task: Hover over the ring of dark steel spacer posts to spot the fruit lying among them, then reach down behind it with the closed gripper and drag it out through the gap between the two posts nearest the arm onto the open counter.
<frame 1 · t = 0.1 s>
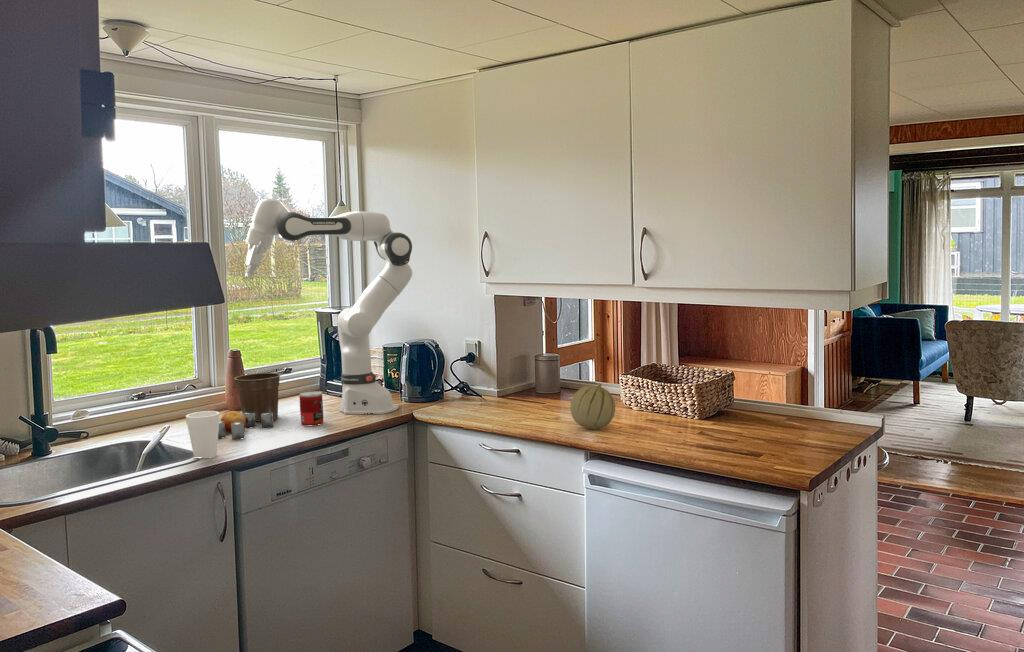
hand: (248, 278, 282), 52 cm above the countertop, tool tilted 20°, fingers open, 8 cm apart
foam cup: (205, 457, 237), on the countertop
plant pot: (260, 419, 288), on the countertop
canned food: (312, 424, 278), on the countertop
fruit: (233, 432, 269), on the countertop
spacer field: (236, 431, 269), on the countertop
cantaloupe: (593, 429, 258), on the countertop
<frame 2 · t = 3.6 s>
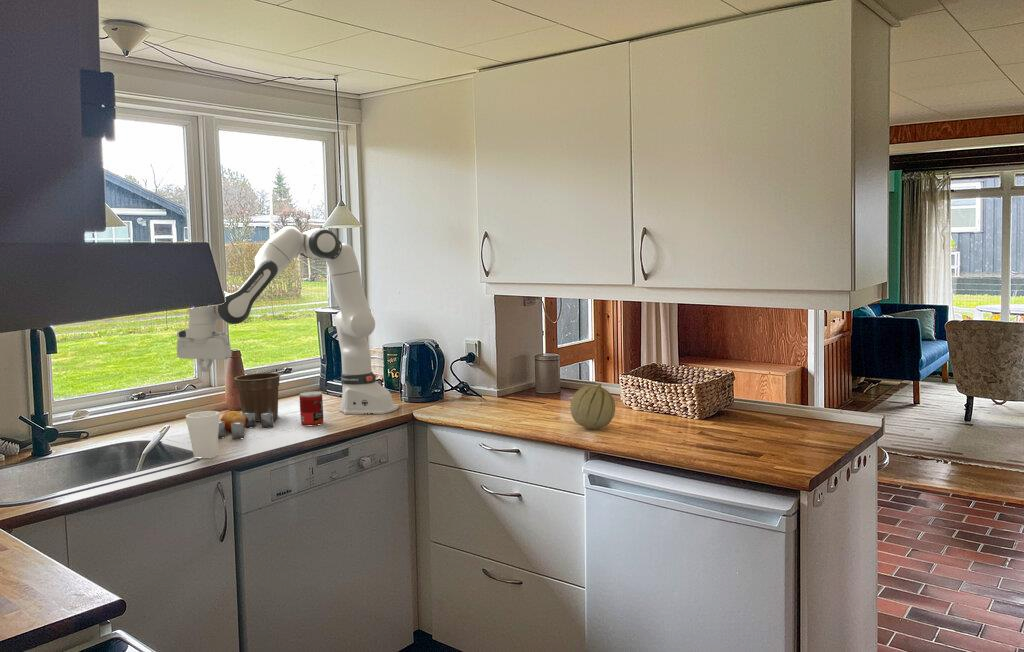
hand: (205, 371, 270), 21 cm above the countertop, tool pointing down, fingers closed
nothing on the countertop moved.
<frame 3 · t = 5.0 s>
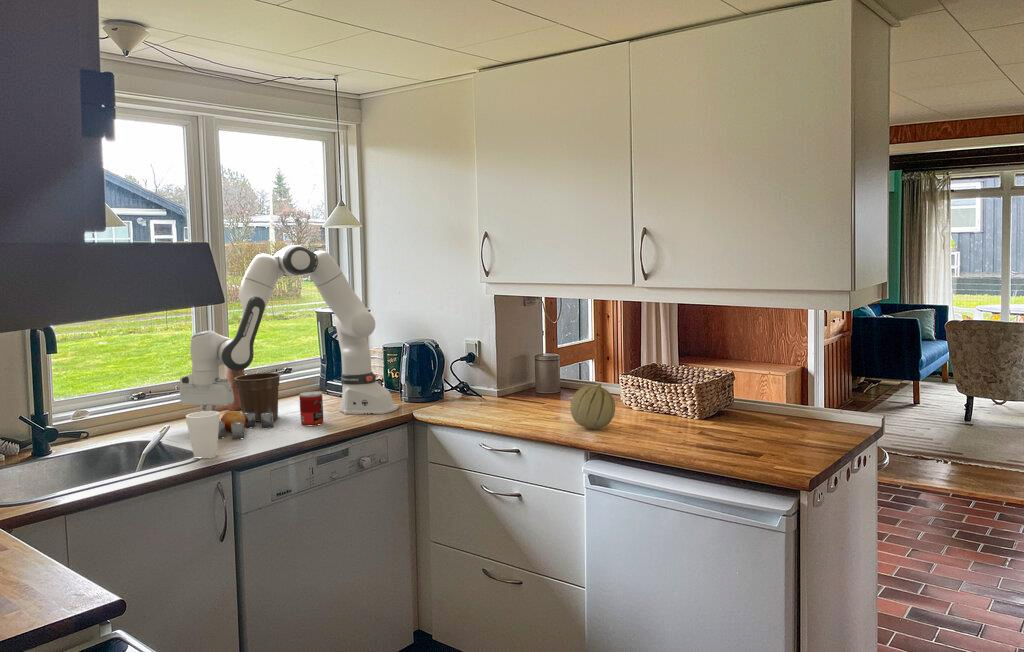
hand: (208, 417, 272), 5 cm above the countertop, tool pointing down, fingers closed
nothing on the countertop moved.
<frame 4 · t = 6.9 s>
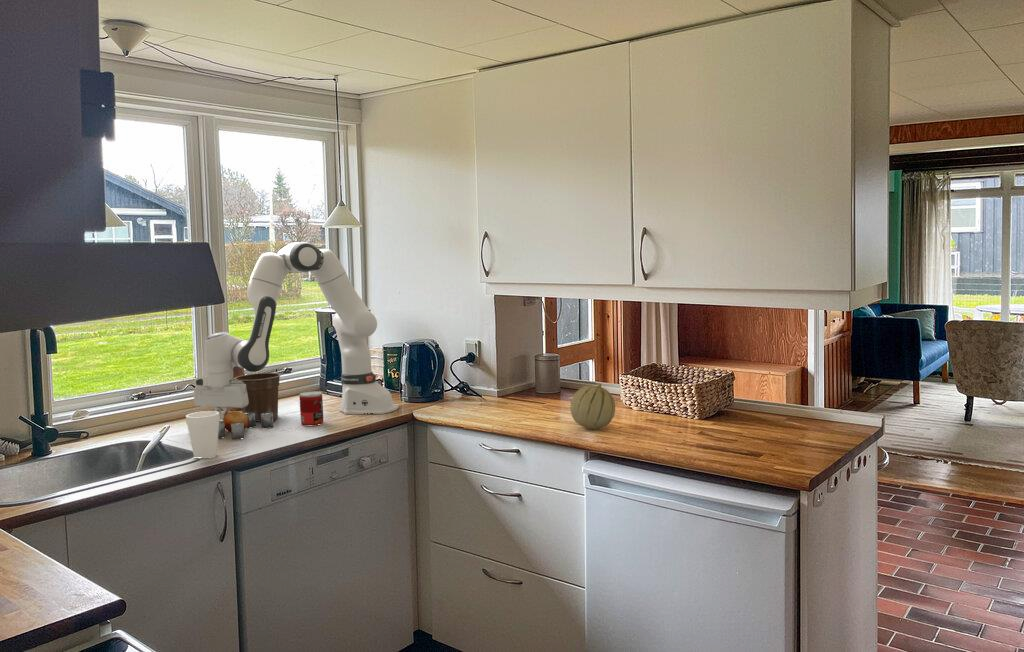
hand: (222, 419, 270), 4 cm above the countertop, tool pointing down, fingers closed
fruit: (235, 432, 269), on the countertop, touching gripper
everything else where it was.
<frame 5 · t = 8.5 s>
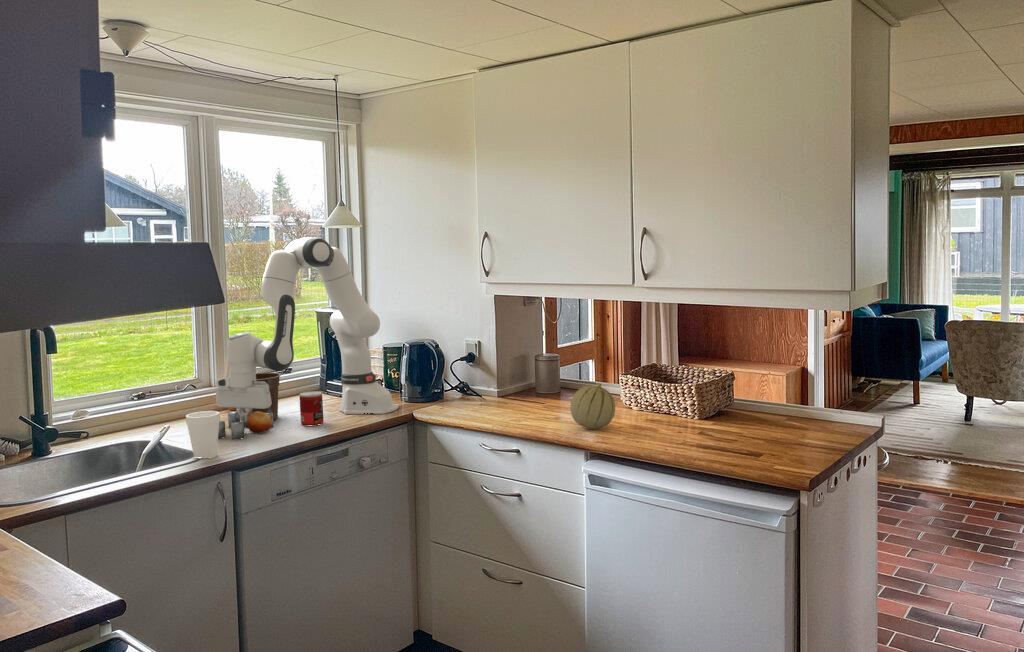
hand: (245, 420, 267), 4 cm above the countertop, tool pointing down, fingers closed
fruit: (259, 432, 267), on the countertop, touching gripper
everything else where it was.
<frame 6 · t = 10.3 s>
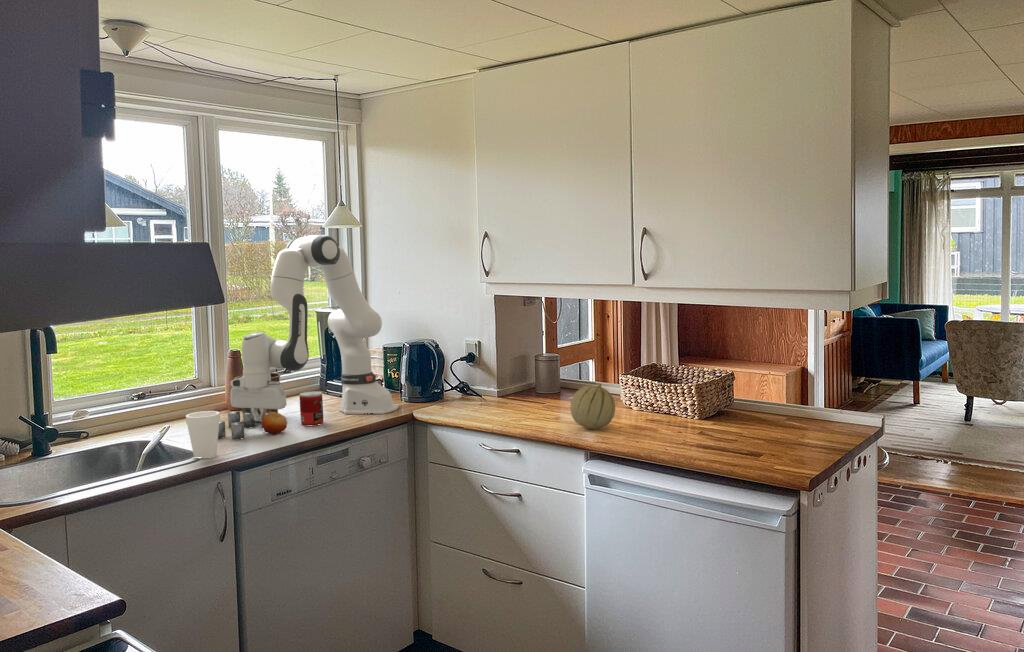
hand: (259, 421, 265), 4 cm above the countertop, tool pointing down, fingers closed
fruit: (274, 433, 265), on the countertop, touching gripper
everything else where it was.
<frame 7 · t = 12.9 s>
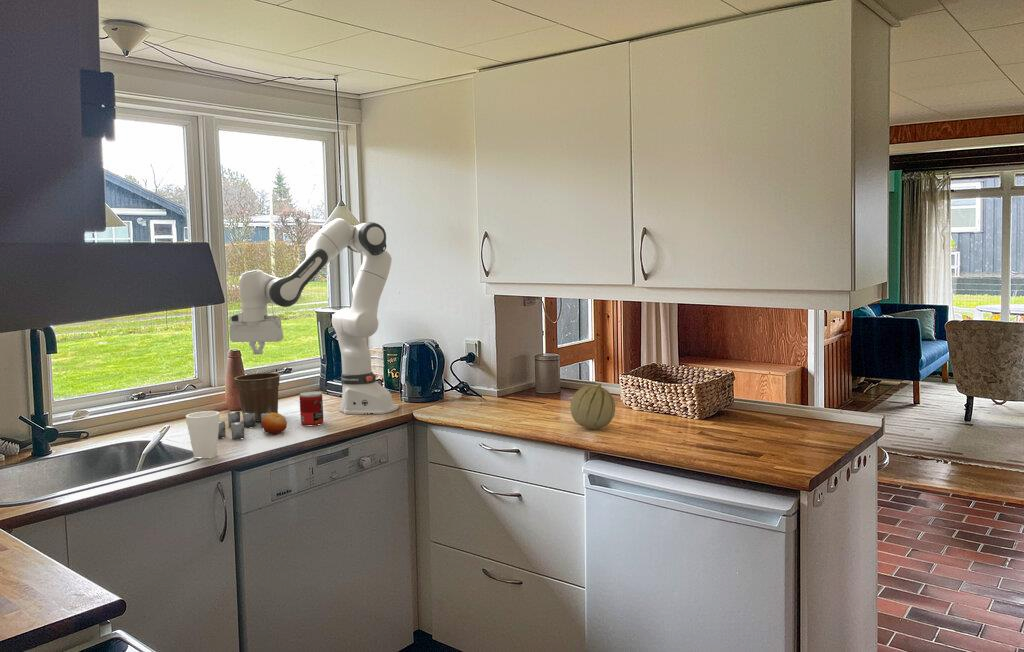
hand: (258, 354, 280), 25 cm above the countertop, tool pointing down, fingers closed
fruit: (274, 434, 265), on the countertop
everything else where it was.
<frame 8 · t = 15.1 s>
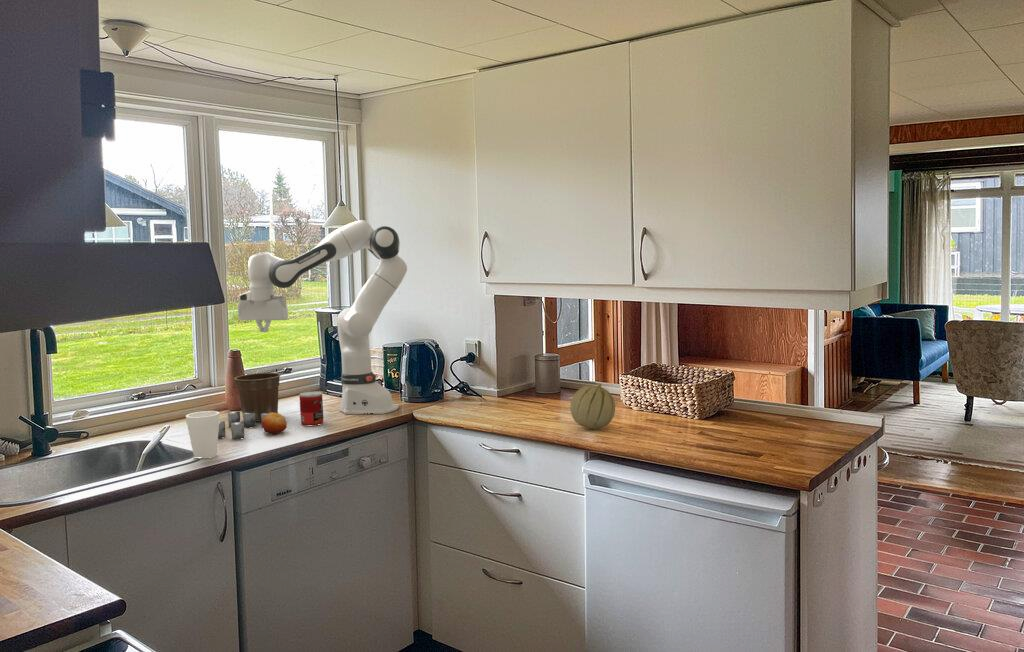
hand: (264, 331, 296), 31 cm above the countertop, tool pointing down, fingers closed
nothing on the countertop moved.
at the end: fruit inside the target area (12.0 cm from its centre), on the countertop; fruit moved 16.1 cm from its start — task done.
